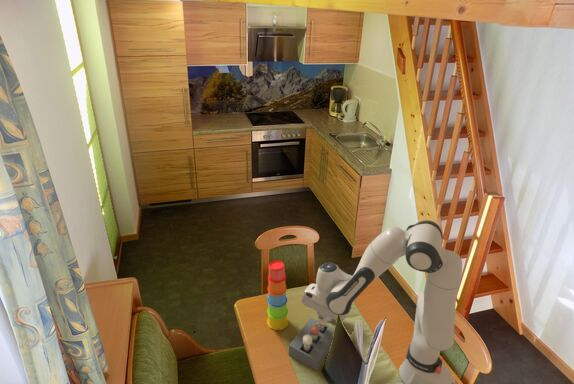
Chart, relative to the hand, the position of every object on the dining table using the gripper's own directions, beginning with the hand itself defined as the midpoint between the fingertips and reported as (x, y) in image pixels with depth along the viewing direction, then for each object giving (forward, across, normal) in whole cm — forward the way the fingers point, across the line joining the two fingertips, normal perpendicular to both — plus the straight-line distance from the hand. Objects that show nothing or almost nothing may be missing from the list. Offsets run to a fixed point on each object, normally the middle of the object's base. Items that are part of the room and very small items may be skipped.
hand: (321, 318), depth 171 cm
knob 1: (+6, 0, +13) cm, 14 cm away
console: (+12, 0, +6) cm, 14 cm away
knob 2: (+6, 0, 0) cm, 6 cm away
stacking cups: (+12, +21, +3) cm, 24 cm away
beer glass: (+12, +2, -14) cm, 18 cm away
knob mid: (+6, 0, +6) cm, 9 cm away
